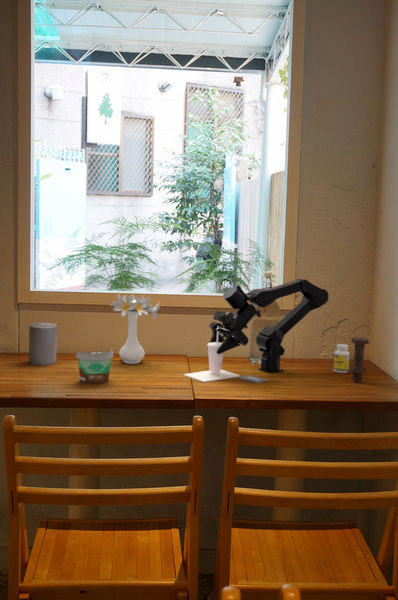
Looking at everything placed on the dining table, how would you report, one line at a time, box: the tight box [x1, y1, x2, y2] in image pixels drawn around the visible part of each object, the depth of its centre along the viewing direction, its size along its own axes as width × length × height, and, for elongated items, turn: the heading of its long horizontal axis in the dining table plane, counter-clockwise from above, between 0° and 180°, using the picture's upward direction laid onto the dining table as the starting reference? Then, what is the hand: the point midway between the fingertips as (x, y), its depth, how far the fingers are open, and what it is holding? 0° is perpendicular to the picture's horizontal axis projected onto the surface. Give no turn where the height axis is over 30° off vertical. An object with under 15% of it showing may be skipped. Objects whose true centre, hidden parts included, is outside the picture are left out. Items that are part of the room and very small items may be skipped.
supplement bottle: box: [332, 343, 350, 374], centre depth 240 cm, size 5×5×10 cm
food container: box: [75, 348, 114, 385], centre depth 211 cm, size 12×6×10 cm, turn 117°
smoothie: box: [206, 331, 225, 373], centre depth 226 cm, size 6×6×14 cm
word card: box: [238, 374, 268, 384], centre depth 223 cm, size 5×8×1 cm, turn 48°
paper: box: [183, 369, 241, 383], centre depth 226 cm, size 16×11×1 cm
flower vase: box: [109, 293, 161, 365], centre depth 241 cm, size 13×18×25 cm
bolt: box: [350, 337, 370, 383], centre depth 225 cm, size 6×5×15 cm
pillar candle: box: [28, 322, 58, 366], centre depth 236 cm, size 10×10×15 cm
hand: (212, 351), depth 225 cm, fingers closed on smoothie, 6 cm apart
